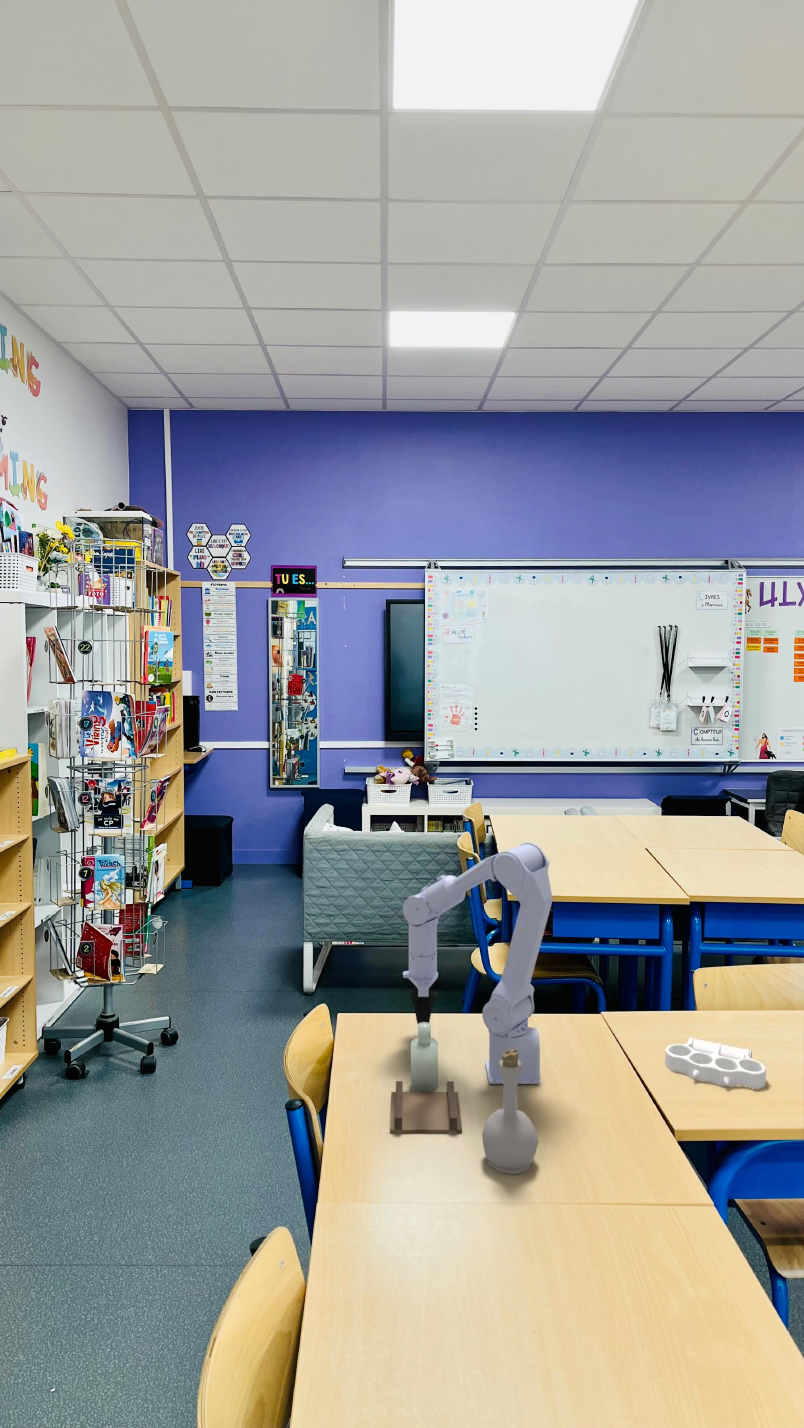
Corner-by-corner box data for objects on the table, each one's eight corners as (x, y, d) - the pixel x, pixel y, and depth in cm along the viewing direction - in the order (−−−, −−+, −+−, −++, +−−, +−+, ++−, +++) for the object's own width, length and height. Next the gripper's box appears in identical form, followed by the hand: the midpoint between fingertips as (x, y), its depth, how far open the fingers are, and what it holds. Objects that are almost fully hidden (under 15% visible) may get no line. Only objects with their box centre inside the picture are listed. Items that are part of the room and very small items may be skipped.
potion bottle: (536, 1181, 126) (538, 1066, 125) (478, 1174, 128) (478, 1061, 127) (539, 1148, 135) (540, 1040, 133) (484, 1141, 136) (484, 1035, 135)
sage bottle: (437, 1078, 157) (437, 1019, 156) (438, 1092, 152) (438, 1031, 151) (410, 1078, 157) (410, 1019, 156) (410, 1092, 152) (410, 1031, 151)
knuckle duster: (769, 1066, 162) (762, 1101, 149) (673, 1045, 171) (659, 1078, 158) (769, 1049, 162) (763, 1083, 149) (673, 1029, 170) (659, 1060, 157)
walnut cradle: (457, 1095, 151) (457, 1081, 151) (462, 1133, 139) (462, 1118, 139) (391, 1095, 151) (391, 1081, 151) (390, 1133, 139) (390, 1118, 139)
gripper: (403, 939, 176) (403, 1002, 177) (402, 965, 162) (402, 1033, 162) (436, 939, 176) (436, 1002, 177) (439, 965, 161) (439, 1033, 162)
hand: (422, 1017), depth 170 cm, fingers open, 7 cm apart
